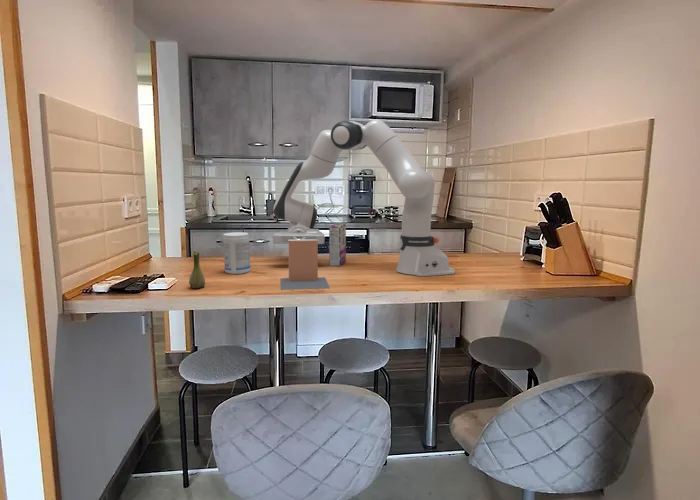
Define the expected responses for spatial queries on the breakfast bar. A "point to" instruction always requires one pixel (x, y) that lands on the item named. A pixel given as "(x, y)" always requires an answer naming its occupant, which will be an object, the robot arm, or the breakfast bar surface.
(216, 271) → the breakfast bar surface
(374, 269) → the breakfast bar surface
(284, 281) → the felt mat
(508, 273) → the breakfast bar surface
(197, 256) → the fennel bulb
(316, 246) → the white boxy piece
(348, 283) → the breakfast bar surface
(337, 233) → the candy bar box
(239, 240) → the supplement tub
